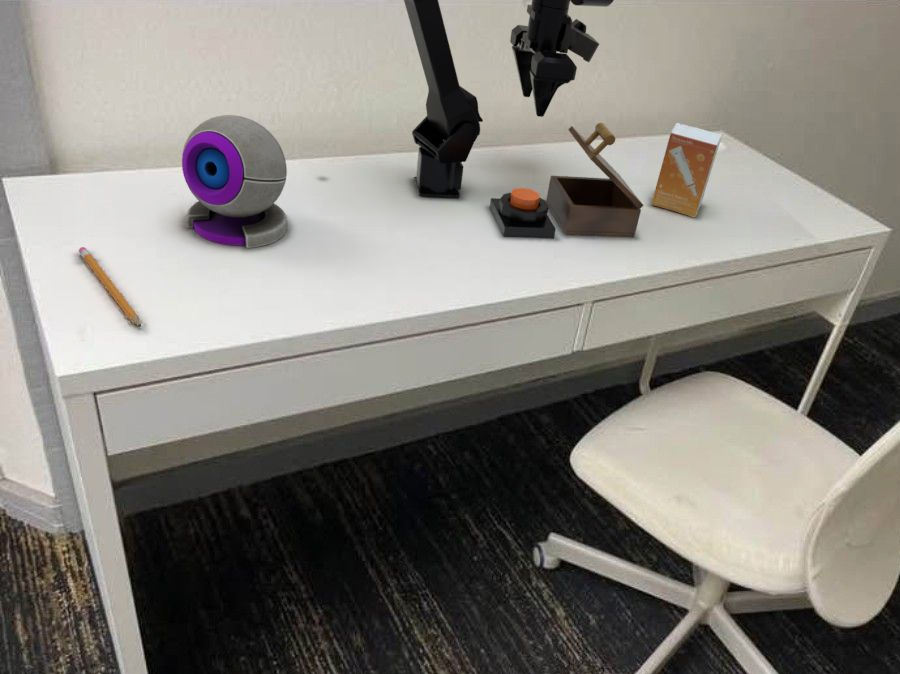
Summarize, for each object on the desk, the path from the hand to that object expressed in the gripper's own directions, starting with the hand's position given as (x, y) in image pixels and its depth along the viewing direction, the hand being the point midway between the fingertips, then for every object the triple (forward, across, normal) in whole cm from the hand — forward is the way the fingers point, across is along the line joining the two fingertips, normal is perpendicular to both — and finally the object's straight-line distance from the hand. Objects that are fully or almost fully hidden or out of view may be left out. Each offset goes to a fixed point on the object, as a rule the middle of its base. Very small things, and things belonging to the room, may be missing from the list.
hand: (532, 106), depth 139 cm
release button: (+10, -17, +4) cm, 20 cm away
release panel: (+13, -16, +4) cm, 21 cm away
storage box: (+13, -14, -8) cm, 21 cm away
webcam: (+14, -21, +45) cm, 52 cm away
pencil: (+14, -39, +59) cm, 72 cm away
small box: (+13, -7, -27) cm, 30 cm away
